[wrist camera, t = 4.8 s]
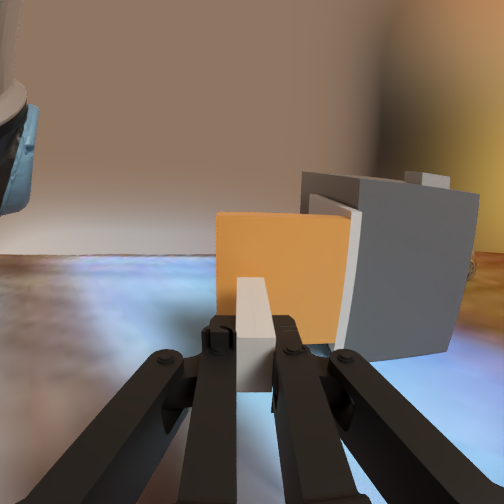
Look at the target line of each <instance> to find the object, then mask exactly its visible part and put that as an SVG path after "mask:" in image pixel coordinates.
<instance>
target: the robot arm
mask: <svg viewBox="0 0 504 504" xmlns="http://www.w3.org/2000/svg"><path fill="white" fill-rule="evenodd" d="M23 3H24V0H0V217H1V215H6V214H10V213H15V212H19V211H21V210H22V209H23V208H25V207H26V205H27V204H28V202H29V199H30V192H31V180H32V168H33V157H34V147H35V139H36V132H37V125H38V117H39V108H38V107H37V106H34V105H30V104H28V105H26V101H27V100H26V99H27V93H26V89H25V87H24V86H23V85H22V84H21V83H20V82H18V81H17V80H15V79H14V67H15V56H16V46H17V39H18V31H19V25H20V19H21V13H22V8H23ZM201 333H202V353H201V354H199V355H197V356H194V357H189V358H183V356H182V354H181V353H179V352H178V351H175V350H170V349H163V350H159V351H156V352H154V353H153V354H151V355H150V356H149V357H148V358H147V360H146V361H145V362H144V363H143V364H142V365H141V366H140V367H139V369H138V370H137V371H136V372H135V373H134V374H133V375H132V377H131V378H130V379H129V380H128V381H127V382H126V383H125V384H124V386H123V387H122V388H121V389H120V390H119V391H118V392H117V394H116V395H115V396H114V397H113V398H112V399H111V400H110V401H109V403H108V404H107V405H106V406H105V407H104V408H103V409H102V411H101V412H100V413H99V414H98V415H97V416H96V417H95V419H94V420H93V421H92V422H91V423H90V424H89V425H88V427H87V428H86V429H85V430H84V431H83V432H82V433H81V435H80V436H79V437H78V438H77V439H76V440H75V441H74V443H73V444H72V445H71V446H70V447H69V448H68V449H67V451H66V452H65V453H64V454H63V455H62V456H61V458H60V459H59V460H58V461H57V462H56V463H55V464H54V466H53V467H52V468H51V469H50V470H49V471H48V473H47V474H46V475H45V476H44V477H43V478H42V479H41V481H40V482H39V483H38V484H37V485H36V486H35V488H34V489H33V490H32V491H31V492H30V493H29V495H28V496H27V497H26V498H25V499H23V500H21V501H19V502H17V503H16V504H135V503H136V502H137V500H138V498H139V496H140V495H141V493H142V491H143V490H144V488H145V486H146V485H147V483H148V481H149V479H150V478H151V476H152V474H153V472H154V471H155V469H156V467H157V466H158V464H159V462H160V460H161V459H162V457H163V455H164V453H165V452H166V450H167V448H168V446H169V445H170V443H171V441H172V439H173V438H174V436H175V434H176V432H177V431H178V429H179V427H180V425H181V423H182V422H183V420H184V418H185V416H186V415H187V413H188V410H189V407H192V412H191V418H190V424H189V430H188V436H187V443H186V449H185V456H184V462H183V469H182V475H181V482H180V489H179V496H178V500H177V502H175V503H174V504H237V469H236V392H272V386H273V397H272V408H271V413H274V418H275V425H276V433H277V441H278V449H279V457H280V464H281V472H282V480H283V488H284V496H285V503H286V504H372V503H371V501H370V499H369V497H368V496H367V495H366V494H360V493H359V492H358V491H357V488H356V485H355V482H354V479H353V476H352V473H351V470H350V467H349V464H348V461H347V458H346V455H345V452H344V449H343V446H342V443H341V440H342V441H343V443H344V444H345V445H346V447H347V448H348V450H349V451H350V452H351V454H352V455H353V457H354V458H355V459H356V461H357V462H358V464H359V465H360V466H361V468H362V469H363V471H364V472H365V473H366V475H367V476H368V478H369V479H370V480H371V482H372V483H373V484H374V486H375V487H376V489H377V490H378V491H379V493H380V494H381V495H382V497H383V498H384V499H385V501H386V502H387V503H388V504H504V487H502V486H499V485H497V484H495V483H493V482H492V481H490V480H489V479H488V478H487V477H486V476H485V475H484V474H483V473H482V472H481V471H480V470H479V469H478V468H477V467H476V466H475V465H474V464H473V463H472V462H471V461H470V460H469V459H468V458H467V457H466V456H465V455H464V454H463V453H462V452H461V451H460V450H459V449H457V448H456V447H455V446H454V445H453V444H452V443H451V442H450V441H449V440H448V439H447V438H446V437H445V436H444V435H443V434H442V433H441V432H440V431H439V430H438V429H437V428H436V427H435V426H434V425H433V424H432V423H431V422H430V421H429V420H428V419H427V418H425V417H424V416H423V415H422V414H421V413H420V412H419V411H418V410H417V409H416V408H415V407H414V406H413V405H412V404H411V403H410V402H409V401H408V400H407V399H406V398H405V397H404V396H403V395H402V394H401V393H400V392H399V391H398V390H397V389H395V388H394V387H393V386H392V385H391V384H390V383H389V382H388V381H387V380H386V379H385V378H384V377H383V376H382V375H381V374H380V373H379V372H378V371H377V370H376V369H375V368H374V367H373V366H372V365H371V364H370V363H369V362H368V361H367V360H365V359H364V358H363V357H362V356H361V355H360V354H359V353H357V352H356V351H353V350H350V349H337V350H335V351H333V352H332V353H331V354H330V357H329V358H326V357H320V356H315V355H313V354H311V352H310V350H309V348H308V347H307V346H306V345H304V344H302V341H301V338H300V335H299V332H298V329H297V326H296V323H295V320H294V319H293V318H292V317H291V316H289V315H271V310H270V305H269V300H268V295H267V290H266V285H265V281H264V277H237V300H236V315H215V316H214V317H213V318H212V319H211V320H210V325H209V326H207V327H205V328H203V330H202V332H201ZM340 438H341V440H340Z"/></svg>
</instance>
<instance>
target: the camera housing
mask: <svg viewBox="0 0 504 504" xmlns="http://www.w3.org/2000/svg"><path fill="white" fill-rule="evenodd" d="M404 179H405V180H404V181H398V180H391V179H384V178H374V177H365V176H353V175H342V174H330V173H316V172H302V185H301V205H300V214H309V197H310V194H318V195H321V196H323V197H326V198H328V199H331V200H334V201H336V202H339V203H341V204H344V205H346V206H348V207H351V208H353V209H356V210H358V211H361V212H362V220H361V231H360V240H359V250H358V258H357V266H356V274H355V281H354V289H353V295H352V302H351V308H350V315H349V321H348V326H347V332H346V338H345V343H344V348H343V349H350V350H353V351H356V352H357V353H359V354H360V355H361V356H362V357H363V358H364V359H365V360H367V361H368V362H373V361H382V360H391V359H399V358H407V357H414V356H421V355H427V354H433V353H440V352H445V351H447V349H448V346H449V343H450V340H451V336H452V333H453V330H454V327H455V323H456V320H457V316H458V313H459V309H460V305H461V301H462V297H463V293H464V289H465V285H466V280H467V276H468V271H469V266H470V261H471V255H472V250H473V244H474V237H475V230H476V224H477V216H478V207H479V194H475V193H470V192H464V191H459V190H453V189H449V188H450V177H446V176H441V175H434V174H429V173H422V172H421V173H420V172H410V171H405V178H404ZM327 345H328V343H327ZM328 347H329V345H328ZM329 349H330V347H329ZM330 351H331V349H330ZM331 353H332V352H331Z"/></svg>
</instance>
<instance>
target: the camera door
mask: <svg viewBox="0 0 504 504" xmlns="http://www.w3.org/2000/svg"><path fill="white" fill-rule="evenodd" d="M361 220H362V212H361V211H358V210H356V209H353V208H351V207H348V206H346V205H344V204H341V203H339V202H336V201H334V200H331V199H328V198H326V197H323V196H321V195H318V194H310V197H309V214H288V213H252V212H218V213H217V215H216V291H217V315H236V300H237V277H264V281H265V285H266V290H267V295H268V300H269V305H270V310H271V315H289V316H291V317H292V318H293V319H294V320H295V323H296V326H297V329H298V332H299V335H300V338H301V341H302V344H325V343H328V345H329V347H330V349H331V352H333V351H335V350H337V349H343V348H344V343H345V338H346V332H347V326H348V321H349V315H350V308H351V302H352V295H353V289H354V281H355V274H356V266H357V258H358V250H359V240H360V231H361Z"/></svg>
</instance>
